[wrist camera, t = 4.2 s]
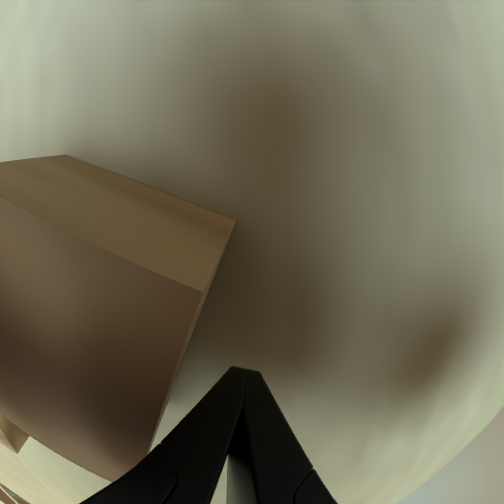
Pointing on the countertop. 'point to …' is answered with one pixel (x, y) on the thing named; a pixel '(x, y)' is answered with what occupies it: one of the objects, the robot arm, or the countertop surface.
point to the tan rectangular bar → (11, 435)
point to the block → (97, 305)
